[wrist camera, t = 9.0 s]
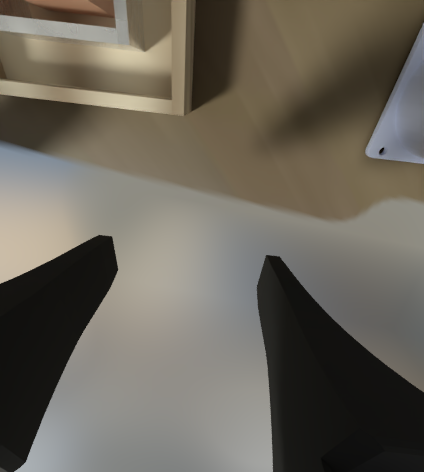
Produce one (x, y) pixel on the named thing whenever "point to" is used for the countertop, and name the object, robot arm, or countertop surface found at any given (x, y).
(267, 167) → the countertop surface
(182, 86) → the walled box
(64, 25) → the frame
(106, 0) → the tan-topped block
